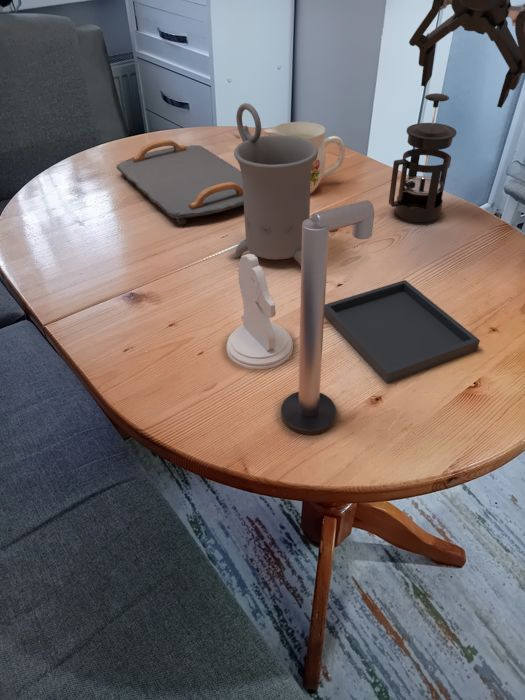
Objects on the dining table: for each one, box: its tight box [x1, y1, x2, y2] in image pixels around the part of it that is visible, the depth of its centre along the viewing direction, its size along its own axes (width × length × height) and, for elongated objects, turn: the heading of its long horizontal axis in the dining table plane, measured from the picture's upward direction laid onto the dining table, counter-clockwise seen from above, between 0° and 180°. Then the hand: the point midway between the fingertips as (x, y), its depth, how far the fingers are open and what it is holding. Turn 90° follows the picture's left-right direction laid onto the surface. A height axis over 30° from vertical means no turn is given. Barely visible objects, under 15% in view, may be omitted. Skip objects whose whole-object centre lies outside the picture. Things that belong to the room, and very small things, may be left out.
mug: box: [231, 102, 318, 267], centre depth 92 cm, size 19×15×25 cm
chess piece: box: [226, 253, 294, 371], centre depth 75 cm, size 10×10×15 cm
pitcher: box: [262, 121, 346, 194], centre depth 117 cm, size 11×18×14 cm, turn 102°
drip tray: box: [324, 279, 481, 385], centre depth 81 cm, size 16×18×2 cm
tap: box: [280, 199, 375, 436], centre depth 60 cm, size 10×7×28 cm
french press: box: [388, 92, 458, 226], centre depth 103 cm, size 12×9×23 cm
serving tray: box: [115, 139, 244, 227], centre depth 121 cm, size 39×23×6 cm, turn 32°
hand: (463, 91), depth 93 cm, fingers open, 13 cm apart
